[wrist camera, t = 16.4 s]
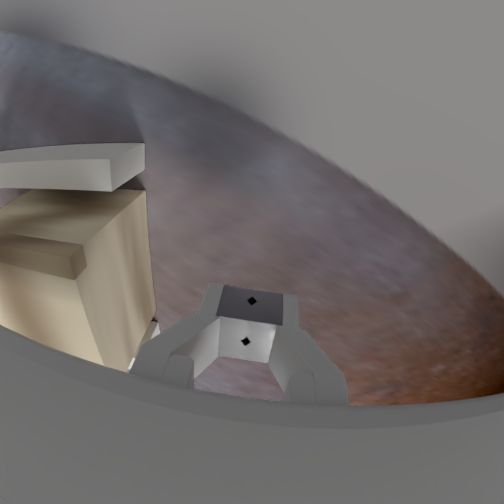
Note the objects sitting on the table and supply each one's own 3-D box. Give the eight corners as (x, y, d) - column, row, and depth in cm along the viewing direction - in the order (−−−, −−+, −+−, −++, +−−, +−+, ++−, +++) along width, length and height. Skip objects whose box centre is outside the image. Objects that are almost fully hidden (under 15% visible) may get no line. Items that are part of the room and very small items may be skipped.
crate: (146, 188, 13) (68, 257, 8) (157, 311, 17) (116, 397, 11) (36, 184, 13) (-43, 235, 8) (61, 290, 17) (9, 354, 11)
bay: (144, 143, 12) (109, 159, 9) (160, 336, 18) (144, 373, 15) (-39, 157, 12) (-69, 172, 10) (-4, 290, 18) (-24, 312, 16)
